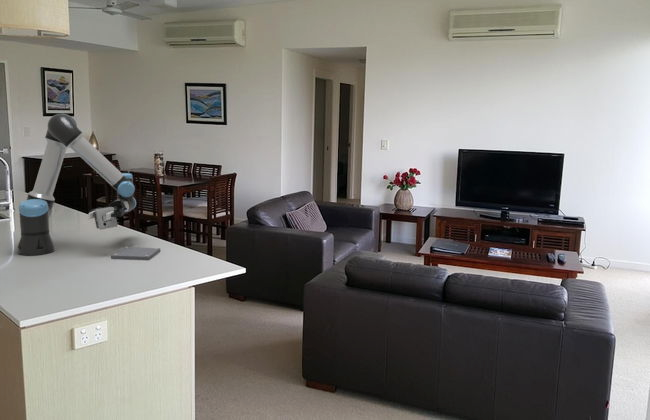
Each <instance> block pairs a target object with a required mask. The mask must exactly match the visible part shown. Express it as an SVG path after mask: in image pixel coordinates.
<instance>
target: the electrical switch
mask: <svg viewBox="0 0 650 420" xmlns="http://www.w3.org/2000/svg"><path fill="white" fill-rule="evenodd" d="M107 207H108V206H107ZM95 209H96V208H95ZM112 211H114V207H108V208H104V207H101V209H96V210H95V212H93V214H94V218H93V219H94V222H95V228H96V229H98V230H106V229H112V228H116V227H118V221H117V217H113V218H111V219H109V220H106V214H107V213H109V212H112Z"/></svg>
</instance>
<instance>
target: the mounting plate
mask: <svg viewBox="0 0 650 420" xmlns="http://www.w3.org/2000/svg"><path fill="white" fill-rule="evenodd" d="M160 252H161V247H133V246H130V247H129V246H124V247H123V248H121V249H119V250H117V251H116V252H115V253H113V254H111V255H110V259H111V260H133V261H134V260H135V261H136V260H137V261H150V260H151V259H153V258H154V257H155V256H156V255H158V254H159V253H160Z"/></svg>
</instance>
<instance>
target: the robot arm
mask: <svg viewBox="0 0 650 420" xmlns="http://www.w3.org/2000/svg"><path fill="white" fill-rule="evenodd" d="M44 139H45V141H46V142H47V143H46V146H45V149H44V153H43V155H42V159H41V163H40V167H39V169H38V171H37V172H38V173H37V177H36V180H35V183H34V186H33V189H32V191H31V190H30V191H29V192H28V193H27V198H26V199H25V200H23V201H21V202H20V203H19V206H18V212H19V227H20V238H19V242H18V245H17V254H18V255H22V256H39V255H46V254H50V253H53V252H54V251H55V243H54V240H53V239H52V237H51V235H50V219H49V218H50V217H51V216H52V212H53V207H54V204H55V200H56V198H55V197H54V192H55V189H56V184H57V182H58V178H59V175H60V172H61V168H62V165H63V162H64V158H65V155H66V152H67V149H68V148H70V149H72V151H73V152H74V153H76V154H77V155H78V156H79V157H80V158H81V159H82V160H83V161H84V162H85V163H86V164H87V165H88V166H90V168H92V169H93V170H94V171H96V173H97V174H99V176H100V177H101V178H103V179H104V180H105V182H107V184H109V185H110V186H111V187H112V188H113V189H114V190H115V191H116V192H117V195H116V196H117V199H116V200H113V201H111V202H110V203H109V204H108V205H107V206H104V207H103V208H108V207H114V211H112V212H109V213H107V214H106V220H109V219H111V218H113V217H116V218H117V217H119V218H121V217H123V216H124V215H125V214H128V213H129V212H131V211H134V209H135V208H136V207H137V201H136V198H135V197H134V193H135V190H136V187H135V185H134V179H133V174H132V173H127V172H121V171H120V170H119V169H118V168H117V167H116V166H115V165H113V163H112V162H110V161H109V160H108V158H106V157H105V156H104V155H103V154H102V153H101V152H100V151H99V150H98V149H97V148H96V147H95V146H94V145H92V143H91V142H89V140H88V139H86V137H84V133H83V131H81V130H80V129H79V127H78V125H77V122H76V120H75V118H73V116H71V115H69V114H66V113H63V112H62V113H57V114H54V115H52V116H51V117H50V118H49V120H48V122H47V129H46V134H45V136H44ZM101 208H102V206H99V207H96V208H93V209H90V210H89V213H88V214H87V215H88V220H93V219H95V218H94V214H93V212H95V210H96V209H101Z"/></svg>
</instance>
